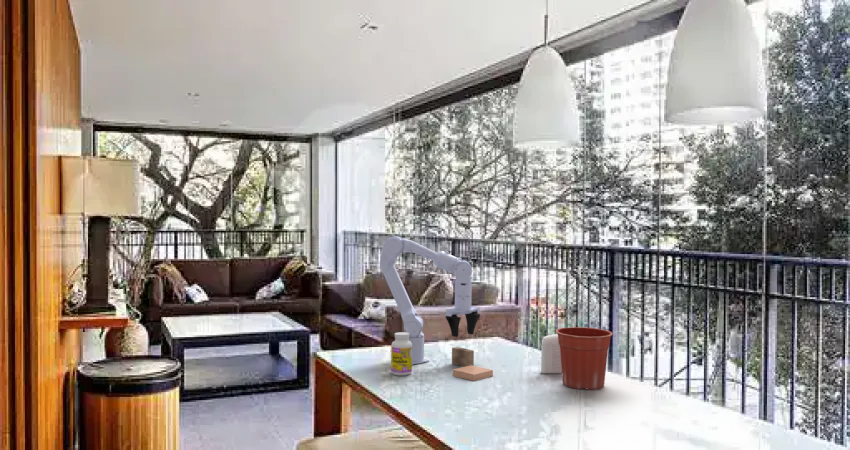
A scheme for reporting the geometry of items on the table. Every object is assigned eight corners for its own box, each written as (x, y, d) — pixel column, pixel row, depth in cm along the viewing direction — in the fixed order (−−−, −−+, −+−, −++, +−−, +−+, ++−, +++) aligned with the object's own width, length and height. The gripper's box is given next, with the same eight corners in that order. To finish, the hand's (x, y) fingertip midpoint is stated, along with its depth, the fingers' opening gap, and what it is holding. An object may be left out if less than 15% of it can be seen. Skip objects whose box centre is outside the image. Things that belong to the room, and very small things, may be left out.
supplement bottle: (388, 375, 206) (388, 334, 206) (394, 370, 213) (394, 331, 213) (408, 376, 205) (409, 335, 205) (414, 371, 211) (414, 332, 211)
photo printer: (569, 370, 215) (569, 333, 215) (574, 373, 211) (574, 335, 211) (539, 371, 213) (539, 333, 213) (543, 374, 209) (543, 335, 209)
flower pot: (614, 393, 186) (614, 337, 186) (555, 390, 190) (555, 335, 190) (609, 380, 203) (610, 328, 202) (555, 377, 206) (556, 326, 206)
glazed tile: (452, 369, 207) (474, 374, 200) (471, 365, 213) (492, 370, 207) (452, 377, 207) (474, 382, 200) (471, 372, 213) (492, 377, 207)
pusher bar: (451, 364, 224) (452, 347, 224) (456, 363, 225) (457, 346, 225) (468, 368, 218) (468, 351, 218) (473, 367, 219) (473, 350, 219)
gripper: (456, 298, 218) (456, 339, 218) (486, 295, 227) (485, 334, 227) (441, 296, 223) (441, 336, 223) (471, 293, 233) (471, 331, 233)
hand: (462, 335), depth 226 cm, fingers open, 7 cm apart
